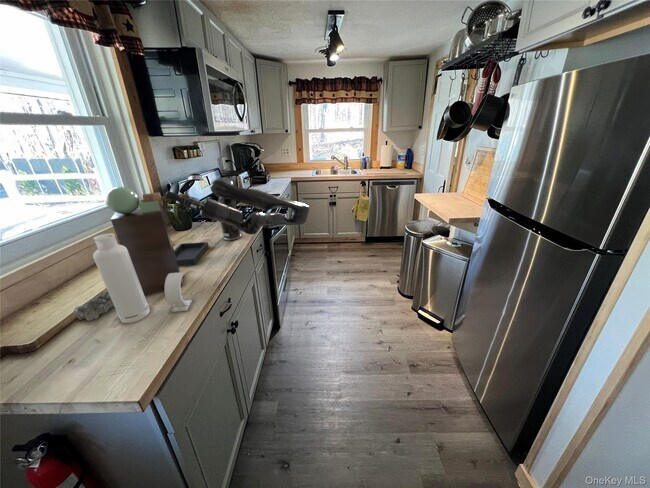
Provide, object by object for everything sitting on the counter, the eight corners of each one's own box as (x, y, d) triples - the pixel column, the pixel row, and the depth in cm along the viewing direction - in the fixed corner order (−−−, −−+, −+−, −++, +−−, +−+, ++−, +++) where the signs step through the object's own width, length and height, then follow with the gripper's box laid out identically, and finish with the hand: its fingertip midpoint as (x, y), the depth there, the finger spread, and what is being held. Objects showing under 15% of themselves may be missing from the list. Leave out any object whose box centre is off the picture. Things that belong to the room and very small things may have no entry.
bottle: (155, 309, 88) (127, 232, 76) (132, 325, 81) (98, 243, 69) (138, 305, 90) (109, 230, 79) (114, 320, 83) (78, 240, 72)
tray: (182, 249, 134) (180, 243, 133) (209, 247, 135) (207, 241, 134) (164, 267, 116) (162, 260, 115) (195, 264, 117) (193, 258, 116)
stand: (141, 284, 103) (115, 212, 91) (181, 275, 109) (161, 205, 97) (140, 297, 95) (110, 219, 83) (182, 285, 101) (160, 212, 89)
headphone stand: (191, 301, 91) (183, 272, 86) (185, 312, 86) (175, 281, 81) (178, 302, 91) (169, 273, 86) (170, 313, 85) (160, 282, 80)
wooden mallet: (146, 204, 93) (142, 192, 90) (189, 199, 99) (186, 187, 96) (146, 210, 89) (142, 197, 87) (191, 204, 96) (188, 191, 93)
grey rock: (90, 322, 82) (85, 312, 81) (74, 319, 84) (68, 308, 83) (122, 302, 92) (118, 293, 90) (107, 299, 94) (102, 290, 92)
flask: (113, 212, 90) (103, 186, 86) (161, 206, 97) (153, 181, 93) (108, 219, 83) (98, 191, 79) (160, 211, 89) (153, 185, 86)
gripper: (214, 223, 97) (162, 207, 87) (209, 215, 108) (162, 200, 98) (221, 205, 97) (170, 187, 86) (215, 198, 108) (169, 181, 97)
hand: (166, 194), depth 92 cm, fingers closed on wooden mallet
